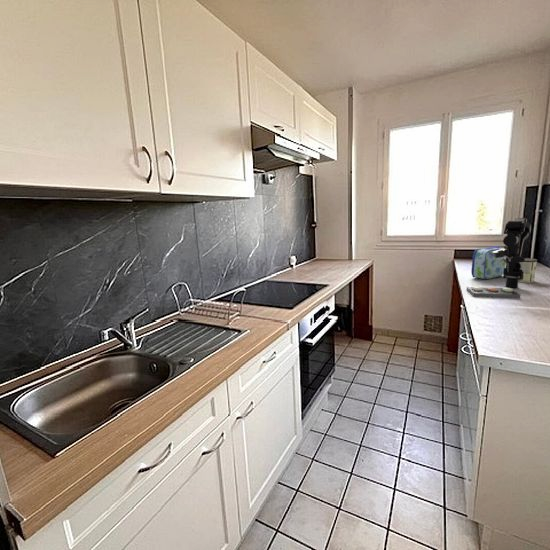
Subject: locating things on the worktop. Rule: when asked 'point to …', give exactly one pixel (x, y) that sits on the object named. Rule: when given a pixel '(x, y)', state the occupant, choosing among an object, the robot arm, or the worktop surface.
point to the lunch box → (487, 263)
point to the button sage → (507, 290)
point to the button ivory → (477, 288)
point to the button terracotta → (492, 289)
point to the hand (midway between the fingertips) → (509, 272)
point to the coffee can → (528, 269)
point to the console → (493, 293)
